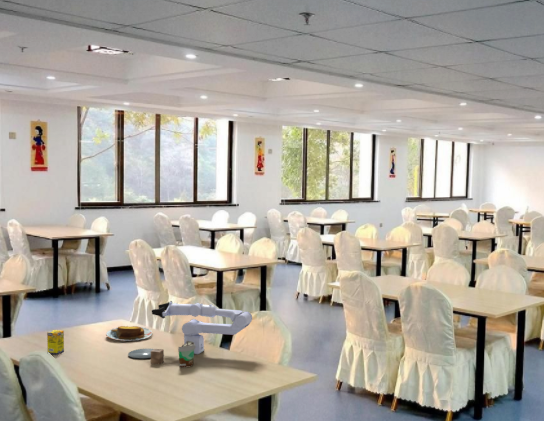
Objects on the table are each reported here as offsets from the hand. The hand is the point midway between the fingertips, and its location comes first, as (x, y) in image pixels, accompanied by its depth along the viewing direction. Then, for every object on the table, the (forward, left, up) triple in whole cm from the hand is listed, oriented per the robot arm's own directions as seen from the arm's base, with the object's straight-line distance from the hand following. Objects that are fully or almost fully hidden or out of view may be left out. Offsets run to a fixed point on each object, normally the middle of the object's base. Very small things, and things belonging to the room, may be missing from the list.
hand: (155, 309), depth 344 cm
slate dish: (0, +12, -20) cm, 24 cm away
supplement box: (+45, +21, -21) cm, 54 cm away
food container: (-28, +21, -21) cm, 40 cm away
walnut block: (-12, +22, -21) cm, 32 cm away
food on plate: (+25, -18, -21) cm, 38 cm away
